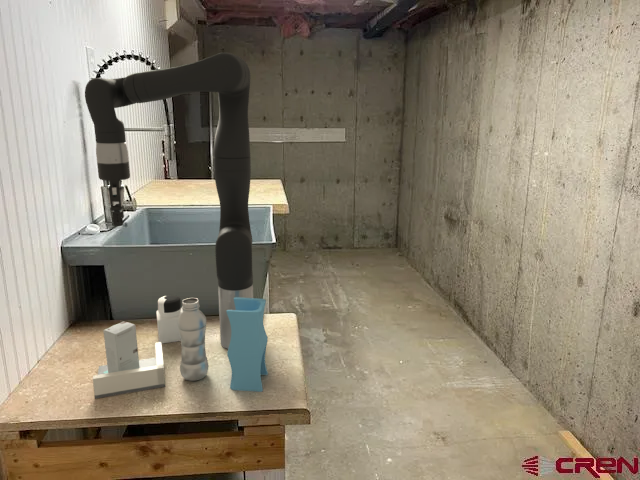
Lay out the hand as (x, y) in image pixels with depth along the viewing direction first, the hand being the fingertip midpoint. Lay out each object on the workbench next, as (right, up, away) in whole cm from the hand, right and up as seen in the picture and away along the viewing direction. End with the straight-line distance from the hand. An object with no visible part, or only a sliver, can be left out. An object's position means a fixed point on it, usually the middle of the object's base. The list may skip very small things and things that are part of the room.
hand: (119, 221), depth 126 cm
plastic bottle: (+23, -38, -11) cm, 46 cm away
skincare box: (+6, -37, -11) cm, 39 cm away
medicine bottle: (+11, -32, +8) cm, 35 cm away
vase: (+36, -39, -12) cm, 55 cm away
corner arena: (+8, -38, -12) cm, 41 cm away
